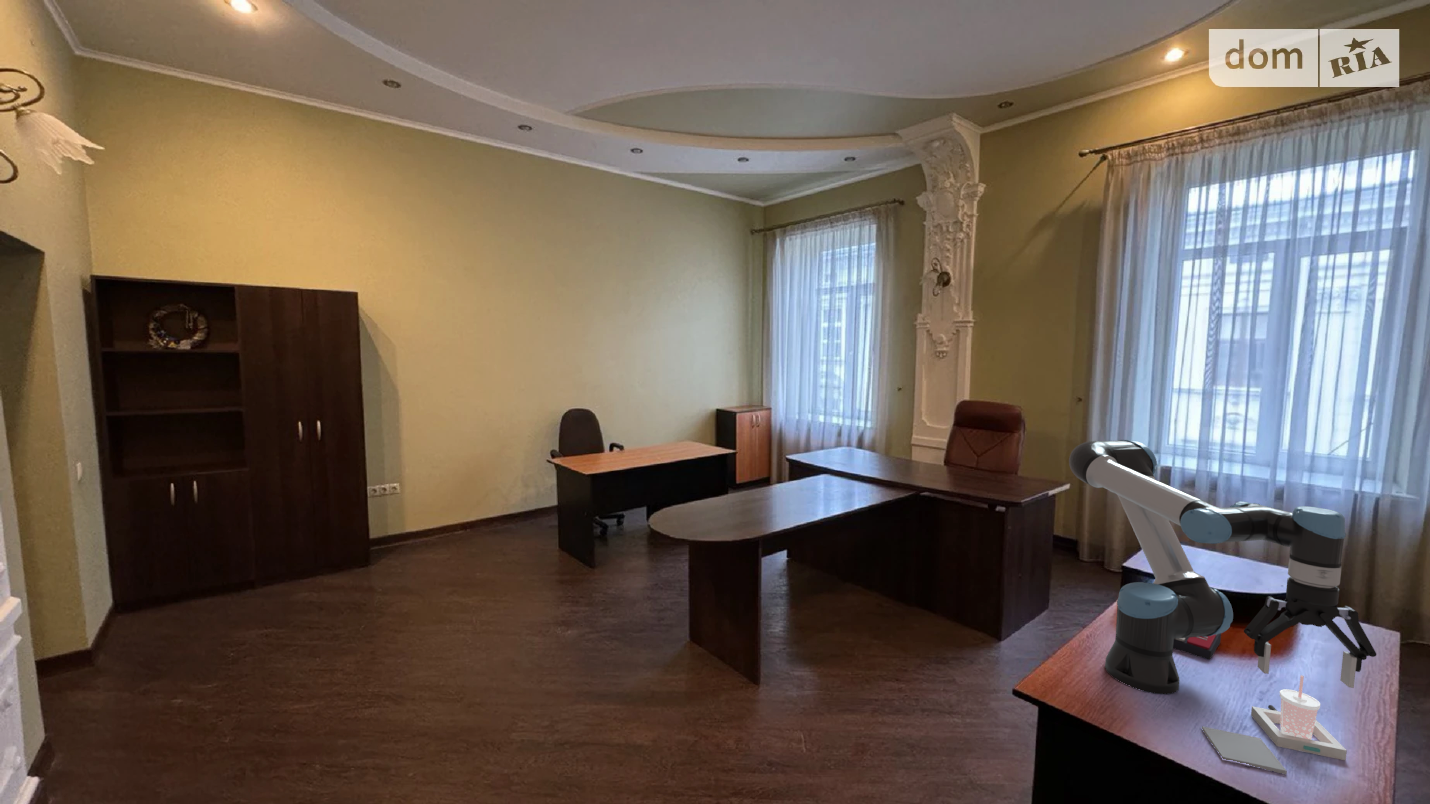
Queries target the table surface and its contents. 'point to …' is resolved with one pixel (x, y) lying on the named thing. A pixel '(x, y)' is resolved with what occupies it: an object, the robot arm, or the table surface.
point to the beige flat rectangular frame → (1322, 747)
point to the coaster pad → (1244, 749)
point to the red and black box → (1198, 645)
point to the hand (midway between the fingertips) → (1304, 677)
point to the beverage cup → (1298, 712)
